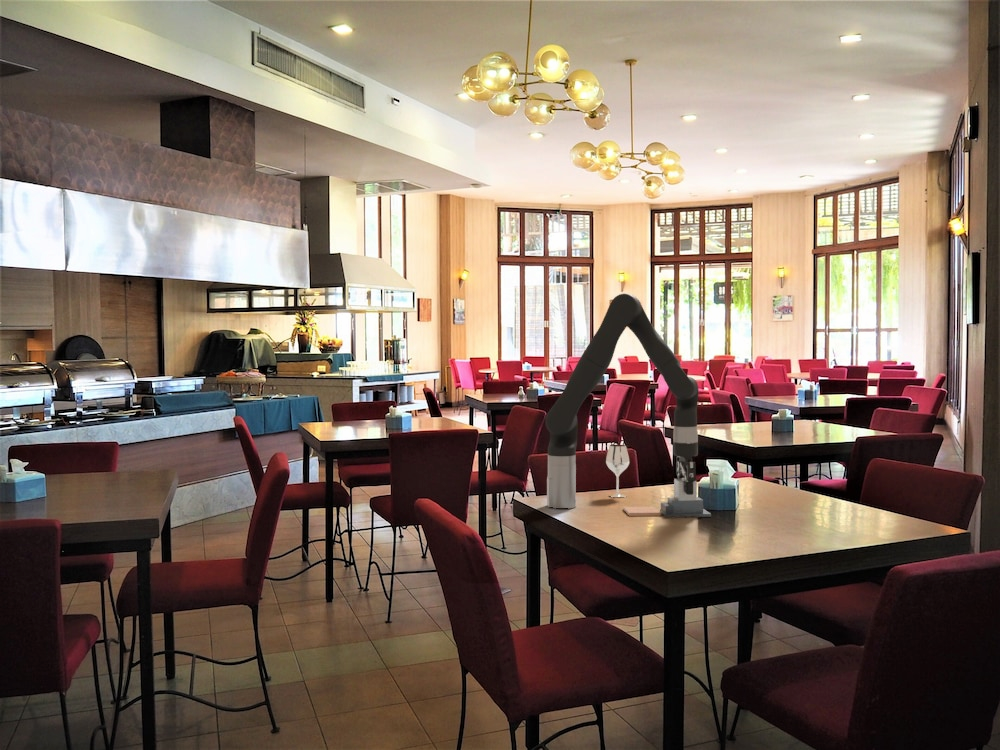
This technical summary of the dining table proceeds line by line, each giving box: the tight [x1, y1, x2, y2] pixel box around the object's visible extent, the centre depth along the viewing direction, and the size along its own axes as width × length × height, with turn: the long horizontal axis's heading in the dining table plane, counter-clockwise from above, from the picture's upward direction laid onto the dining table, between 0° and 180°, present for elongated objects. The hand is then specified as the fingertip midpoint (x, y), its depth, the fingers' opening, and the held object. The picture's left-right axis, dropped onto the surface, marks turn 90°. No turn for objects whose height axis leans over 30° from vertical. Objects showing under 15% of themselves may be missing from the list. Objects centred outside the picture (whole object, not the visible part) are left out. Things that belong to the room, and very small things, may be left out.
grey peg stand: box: [659, 478, 712, 518], centre depth 267 cm, size 14×8×12 cm, turn 93°
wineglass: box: [605, 444, 630, 498], centre depth 300 cm, size 8×8×18 cm
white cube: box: [673, 478, 698, 501], centre depth 267 cm, size 6×6×6 cm
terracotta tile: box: [622, 506, 662, 517], centre depth 270 cm, size 10×10×1 cm
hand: (685, 492), depth 267 cm, fingers open, 8 cm apart
